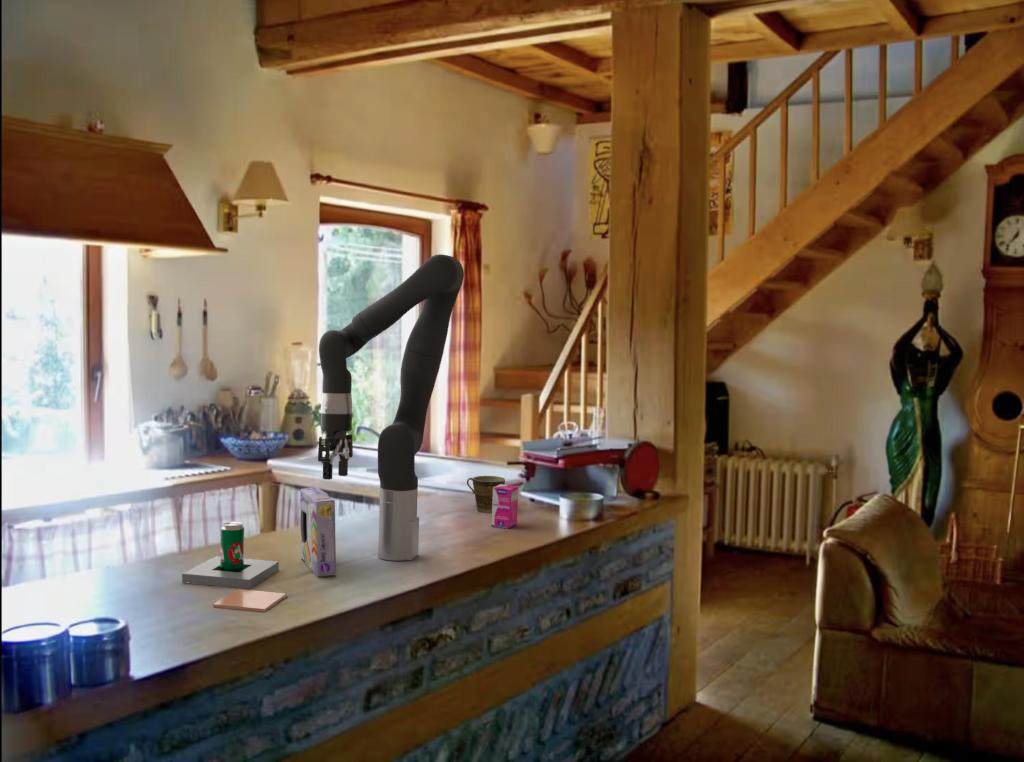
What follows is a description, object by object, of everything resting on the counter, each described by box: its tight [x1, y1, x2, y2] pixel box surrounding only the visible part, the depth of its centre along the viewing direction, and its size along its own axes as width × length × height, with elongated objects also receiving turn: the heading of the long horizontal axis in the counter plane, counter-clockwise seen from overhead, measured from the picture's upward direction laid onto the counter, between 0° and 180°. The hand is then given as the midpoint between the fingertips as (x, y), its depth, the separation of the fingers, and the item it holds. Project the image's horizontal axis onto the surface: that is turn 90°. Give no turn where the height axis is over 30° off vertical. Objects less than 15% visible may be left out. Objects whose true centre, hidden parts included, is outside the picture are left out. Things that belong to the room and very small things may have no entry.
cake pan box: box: [299, 486, 337, 578], centre depth 232 cm, size 19×5×18 cm, turn 23°
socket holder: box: [181, 555, 280, 590], centre depth 222 cm, size 16×16×2 cm
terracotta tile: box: [212, 588, 288, 613], centre depth 204 cm, size 11×11×1 cm
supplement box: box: [491, 484, 519, 530], centre depth 282 cm, size 6×6×12 cm
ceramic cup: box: [466, 475, 506, 514], centre depth 302 cm, size 13×10×10 cm
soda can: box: [219, 521, 245, 572], centre depth 222 cm, size 5×5×12 cm
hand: (335, 477), depth 243 cm, fingers open, 8 cm apart
